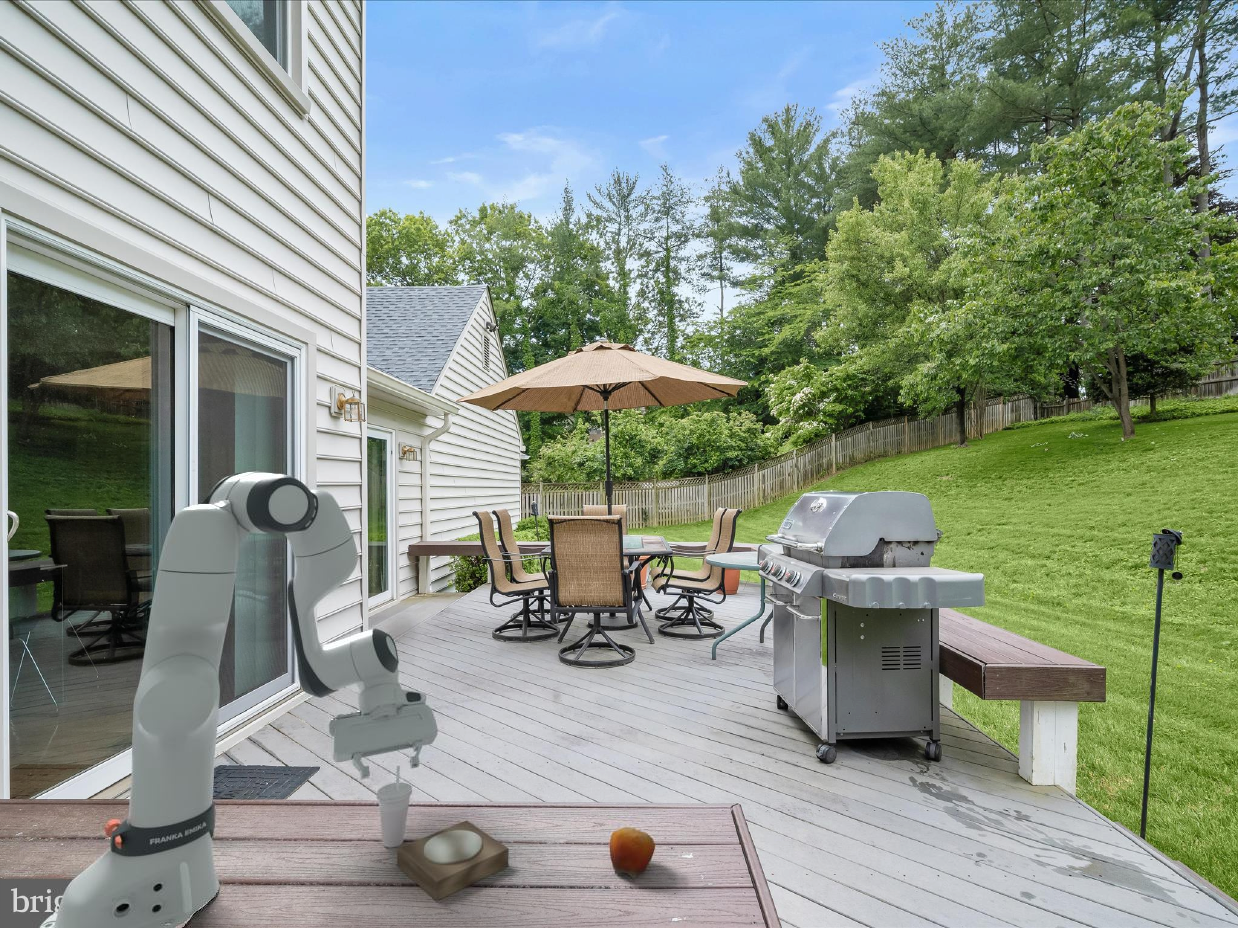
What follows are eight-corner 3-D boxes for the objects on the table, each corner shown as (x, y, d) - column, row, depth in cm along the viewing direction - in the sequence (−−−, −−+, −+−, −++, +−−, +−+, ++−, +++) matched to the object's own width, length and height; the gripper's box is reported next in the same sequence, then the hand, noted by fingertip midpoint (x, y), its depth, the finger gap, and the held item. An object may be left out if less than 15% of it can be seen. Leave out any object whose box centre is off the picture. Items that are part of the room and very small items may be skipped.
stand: (436, 900, 99) (436, 877, 100) (397, 865, 109) (397, 844, 110) (508, 865, 109) (508, 844, 110) (466, 836, 119) (466, 816, 119)
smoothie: (399, 852, 113) (401, 774, 114) (367, 848, 115) (370, 771, 116) (417, 835, 120) (419, 760, 121) (387, 831, 121) (389, 758, 122)
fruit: (597, 873, 105) (606, 820, 109) (611, 876, 111) (619, 826, 115) (642, 884, 102) (650, 829, 106) (654, 886, 108) (661, 834, 112)
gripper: (330, 708, 123) (335, 776, 114) (432, 692, 134) (445, 753, 125) (326, 724, 126) (331, 792, 117) (426, 707, 137) (438, 768, 128)
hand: (390, 771), depth 121 cm, fingers open, 8 cm apart
